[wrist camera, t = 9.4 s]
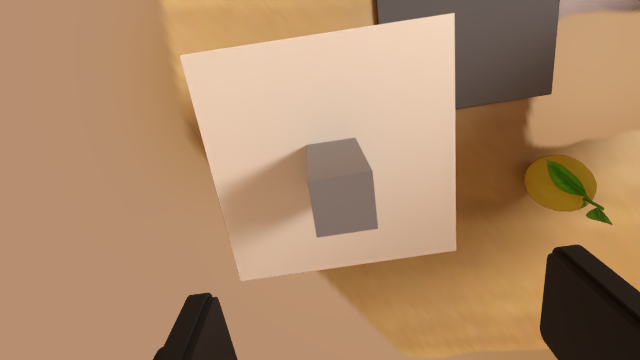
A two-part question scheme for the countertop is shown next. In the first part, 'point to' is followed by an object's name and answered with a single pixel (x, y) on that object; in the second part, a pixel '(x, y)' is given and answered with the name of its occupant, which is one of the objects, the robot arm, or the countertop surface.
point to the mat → (492, 45)
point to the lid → (332, 145)
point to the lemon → (563, 185)
